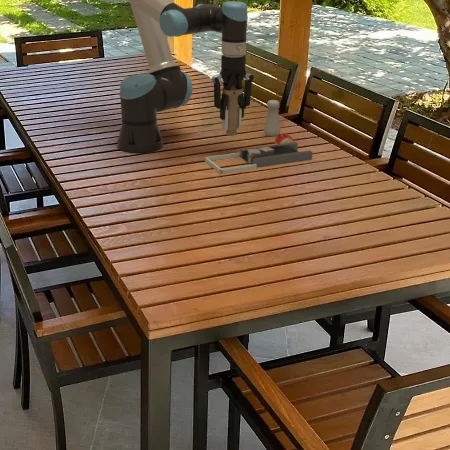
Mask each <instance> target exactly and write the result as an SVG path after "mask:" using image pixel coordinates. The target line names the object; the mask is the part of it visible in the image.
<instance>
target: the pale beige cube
mask: <svg viewBox="0 0 450 450" xmlns="http://www.w3.org/2000/svg"><path fill="white" fill-rule="evenodd" d="M262 147H263V146H262ZM259 151H260V152H261V154H260V157H267V156H274V149H272V148H269V147H263V148H259Z"/></svg>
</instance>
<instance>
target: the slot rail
mask: <svg viewBox="0 0 450 450" xmlns="http://www.w3.org/2000/svg"><path fill="white" fill-rule="evenodd" d="M298 145H299V143H298V142H295V141H294V142H293V143H286V144H278V145H277V144H273V145H272V144H271V145H266V146H265V145H264V146H257V147H256V146H255V147H250V148H241V149H240V150H239V151H240V152H239V153H240V157H239V158H241V159H242V160H243V161H245V162H246V163H248V164H249V162H248V161H247V150H249V149H259V148H263V147H269V148H272V149H274V156H267V157H259V158H253V164H256V165H257V168H263V167H271V166H276V165H285V164H290V163H296V162H304V161H311V160H312V159H313V151H312V150H303V151H302V150H301V151H299V150H298V147H299V146H298ZM253 164H250V165H253Z"/></svg>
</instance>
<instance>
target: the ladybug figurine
mask: <svg viewBox="0 0 450 450" xmlns="http://www.w3.org/2000/svg"><path fill="white" fill-rule="evenodd" d="M293 142H295V140H294V138H293V137H292V136H291V135H289V134H288V133H287V134H286V133H280V134H279V135H278V136H275V139H274V143H275V145H278V144H286V143H293Z"/></svg>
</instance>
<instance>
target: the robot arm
mask: <svg viewBox="0 0 450 450" xmlns="http://www.w3.org/2000/svg"><path fill="white" fill-rule="evenodd" d="M125 1H126V2H128V3H129V4H130V6H131V10H132V13H133V16H134V21H135V24H136V26H137V31H138V34H139V37H140V41H141V44H142V47H143V50H144V54H145V57H146V62H147V64H148V68H149V69H148V70H147V73H140V74H138V73H137V74H133V75H130V76H126V77H125V78H123V79H122V80H121V81H120V84H119V97H120V98H119V99H120V109H121V110H120V113H121V114H120V115H121V127H120V131H119V134H118V138H117V148H118V149H119V150H121V151H123V152H128V153H139V154H140V153H151V152H155V151H157V150H160V149H161V148H163V145H164V140H163V139H164V138H163V136H162V133H161V131H160V128H159V126H158V122H157V120H158V119H157V113H159V112H163V111H167V110H168V111H169V110H172V109H178V108H180V107H182V106H183V107H184V106H185V105H187V103H188V102H189V101H190V100H191V97H192V95H193V83H192V82H193V81H192V79H191V77H190V75H189V74H188V73H187V72H186V71H183V70H181V67H180V64H179V63H177V62H176V61H174V58H173V54H172V51H171V47H170V43H169V40H168V37H169V38H171V37H172V38H173V37H175V38H176V37H181V36H186V35H192V34H201V33H206V32H214V33H219V34H221V51H220V53H221V58H220V60H221V62H220V64H221V65H220V67H221V70H220V72H219V74H217V75H216V76H215V75H213V76H212V77H211V80H212V82H213V101H214V102H213V106H214V107H215V108H217V109H218V110H219V118H220V120H221V121H222V122H221V129H222V130H224V131H225V132H226V130H228V110H227V109H226V108H227V101H228V97H229V96H228V95H226V93H225V94H223V92H221V91H222V90H221V89H225V90H230V89H231V87H235V88H237V89H242V88H243V81H244V88H243V93H242V94H241V95H239V96H238V127H237V130H241V129H242V119H244V117H245V110H246V108H247V107H250V105H251V98H252V96H251V95H252V85H253V81H254V78H255V76H254V74H251V73H250V72H249V73H247V70H246V66H247V63H246V62H247V57H246V54H247V31H248V20H249V16H248V5H247V4H246V3H245V2H242V1H233V0H232V1H231V0H230V1H225V2H223V3H222V6H216V5H212V4H209V3H206V4H205V3H199V4H197V5H195V6H194V7H185V8H184V7H183V6H180V5H178V4H177V3H175V2H174V1H172V0H125ZM222 81H223V85H222V88H221V82H222Z"/></svg>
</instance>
